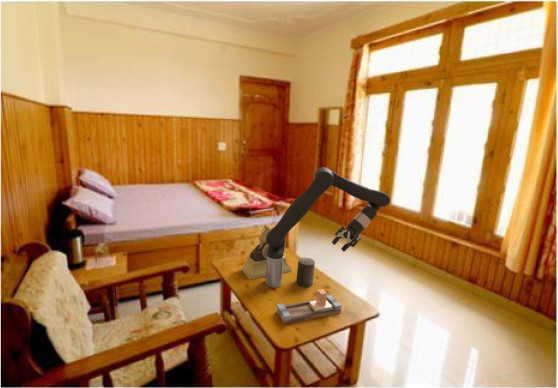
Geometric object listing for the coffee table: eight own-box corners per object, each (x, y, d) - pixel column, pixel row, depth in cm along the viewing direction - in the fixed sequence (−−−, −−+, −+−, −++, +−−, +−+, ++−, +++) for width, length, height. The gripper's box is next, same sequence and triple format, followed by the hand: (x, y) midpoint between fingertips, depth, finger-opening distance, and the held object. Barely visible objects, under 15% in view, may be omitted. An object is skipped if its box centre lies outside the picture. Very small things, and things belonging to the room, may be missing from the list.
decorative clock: (249, 279, 171) (251, 231, 164) (242, 270, 182) (243, 223, 175) (291, 271, 184) (294, 225, 177) (282, 262, 195) (284, 219, 188)
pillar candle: (298, 287, 165) (300, 262, 162) (294, 278, 174) (296, 255, 171) (315, 286, 167) (317, 262, 164) (310, 278, 176) (312, 254, 173)
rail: (276, 311, 142) (276, 304, 141) (329, 301, 153) (330, 294, 152) (284, 324, 133) (284, 316, 132) (340, 312, 144) (341, 305, 143)
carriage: (309, 304, 147) (310, 289, 145) (324, 301, 150) (326, 286, 148) (316, 312, 140) (317, 296, 139) (332, 309, 144) (333, 293, 142)
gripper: (347, 214, 153) (326, 237, 151) (364, 223, 140) (341, 248, 138) (354, 223, 156) (333, 246, 154) (372, 232, 143) (349, 257, 141)
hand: (337, 247), depth 146 cm, fingers open, 8 cm apart
